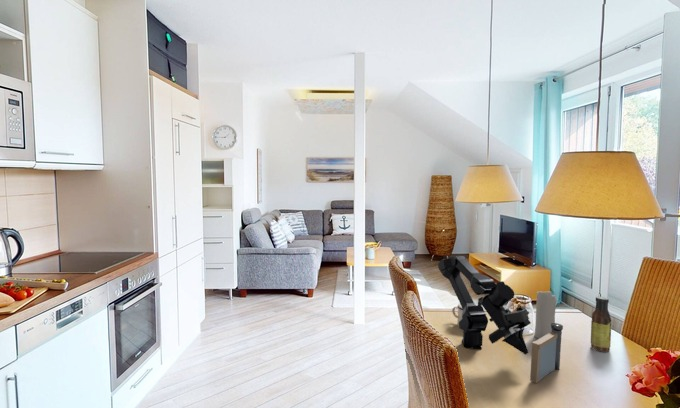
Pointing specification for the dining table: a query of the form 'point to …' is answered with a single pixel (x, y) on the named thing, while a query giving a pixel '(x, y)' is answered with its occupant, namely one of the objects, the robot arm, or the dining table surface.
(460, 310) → the teacup with lid
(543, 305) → the notched grey upright panel
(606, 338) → the sauce bottle
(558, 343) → the hinge post
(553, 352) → the gate
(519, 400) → the dining table surface
